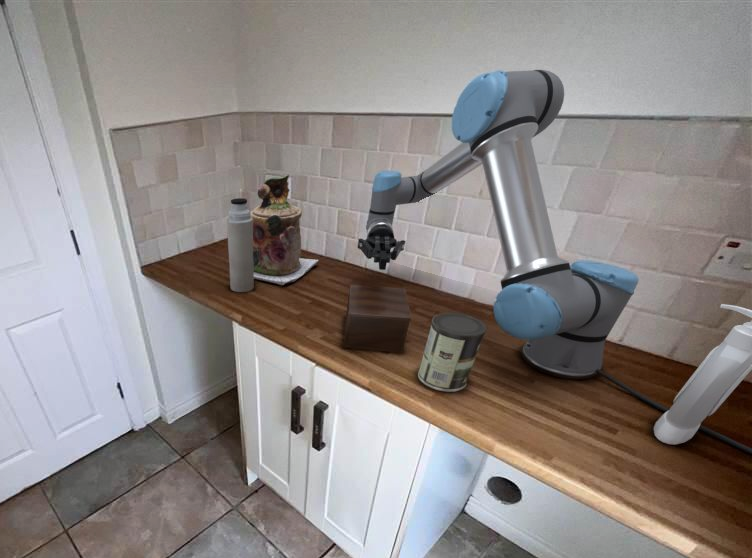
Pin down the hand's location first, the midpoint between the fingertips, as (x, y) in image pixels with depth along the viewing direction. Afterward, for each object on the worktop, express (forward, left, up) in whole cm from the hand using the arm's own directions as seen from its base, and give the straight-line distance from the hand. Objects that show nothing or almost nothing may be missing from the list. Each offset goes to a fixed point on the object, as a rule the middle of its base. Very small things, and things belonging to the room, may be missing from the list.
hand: (383, 264), depth 101 cm
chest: (-3, +2, -18) cm, 18 cm away
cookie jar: (+51, +10, -18) cm, 55 cm away
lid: (-4, +2, -9) cm, 10 cm away
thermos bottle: (+40, +26, -18) cm, 51 cm away
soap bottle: (-53, -31, -18) cm, 64 cm away
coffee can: (-26, -2, -18) cm, 32 cm away
